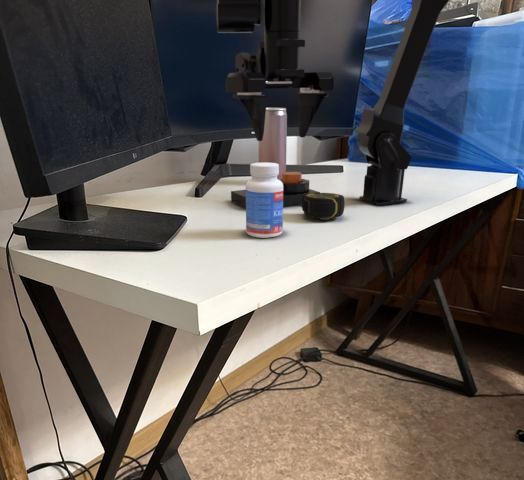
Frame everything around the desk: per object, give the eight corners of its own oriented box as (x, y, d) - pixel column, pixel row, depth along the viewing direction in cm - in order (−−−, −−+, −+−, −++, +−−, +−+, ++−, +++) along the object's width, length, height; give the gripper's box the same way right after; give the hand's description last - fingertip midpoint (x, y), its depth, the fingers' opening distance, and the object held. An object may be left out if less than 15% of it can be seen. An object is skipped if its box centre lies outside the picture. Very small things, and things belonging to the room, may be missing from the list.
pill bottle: (279, 239, 73) (280, 167, 68) (243, 237, 74) (241, 166, 69) (285, 229, 77) (286, 161, 73) (250, 228, 78) (249, 161, 74)
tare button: (295, 180, 97) (295, 171, 97) (305, 183, 94) (305, 173, 94) (278, 182, 96) (278, 172, 95) (288, 185, 93) (288, 175, 92)
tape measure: (340, 213, 87) (342, 190, 85) (345, 222, 81) (347, 198, 79) (300, 213, 87) (301, 190, 85) (302, 222, 81) (303, 198, 79)
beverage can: (257, 181, 115) (257, 107, 108) (283, 180, 116) (284, 107, 109) (260, 185, 110) (259, 109, 103) (287, 185, 111) (289, 108, 104)
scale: (295, 194, 102) (295, 176, 100) (319, 202, 95) (320, 183, 93) (231, 201, 96) (230, 182, 94) (252, 210, 89) (251, 190, 87)
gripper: (296, 38, 91) (294, 132, 99) (205, 34, 82) (211, 139, 89) (338, 33, 83) (333, 136, 91) (243, 28, 74) (246, 144, 81)
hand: (281, 139), depth 88 cm, fingers open, 9 cm apart
